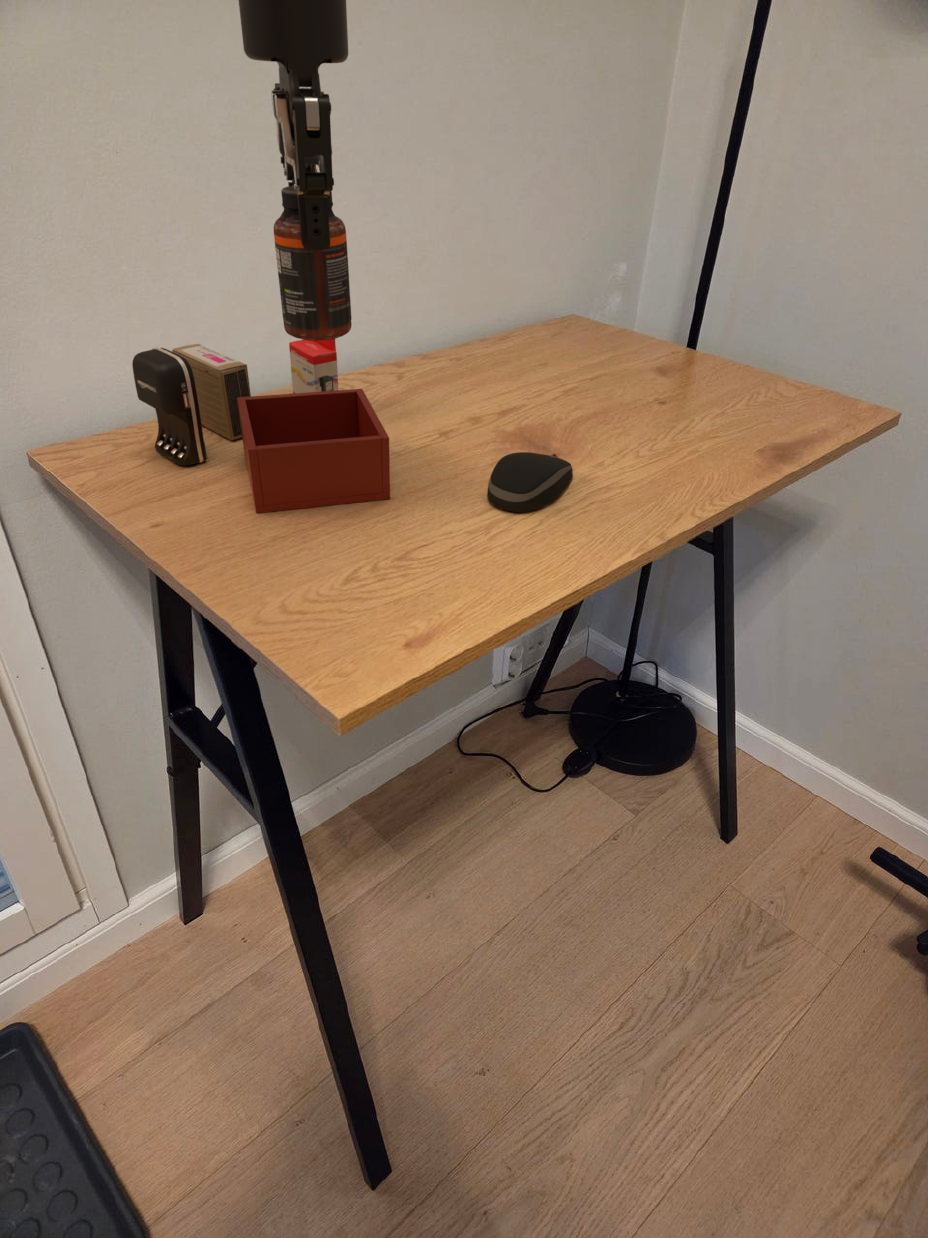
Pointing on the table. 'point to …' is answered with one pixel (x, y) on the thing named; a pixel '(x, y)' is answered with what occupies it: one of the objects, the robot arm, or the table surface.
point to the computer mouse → (528, 481)
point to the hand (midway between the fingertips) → (310, 238)
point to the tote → (314, 449)
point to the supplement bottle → (312, 276)
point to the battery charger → (171, 404)
